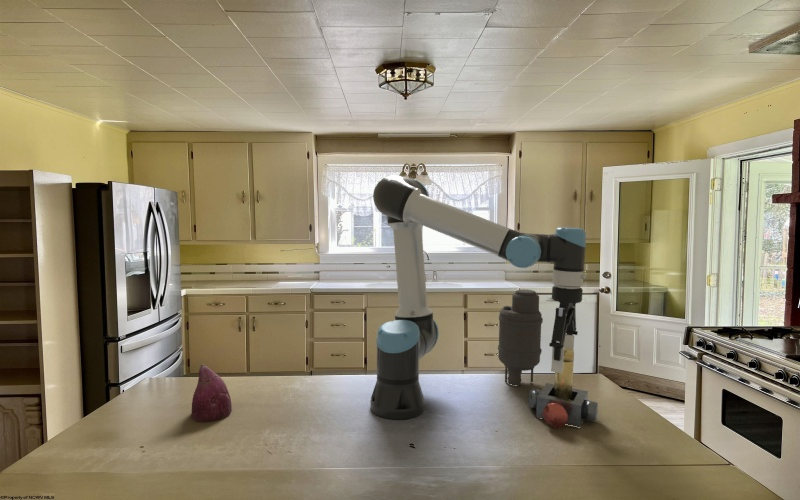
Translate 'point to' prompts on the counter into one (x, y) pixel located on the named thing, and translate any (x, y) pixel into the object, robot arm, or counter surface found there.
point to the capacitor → (520, 335)
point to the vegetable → (210, 397)
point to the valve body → (562, 407)
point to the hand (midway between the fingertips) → (562, 364)
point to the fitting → (565, 377)
